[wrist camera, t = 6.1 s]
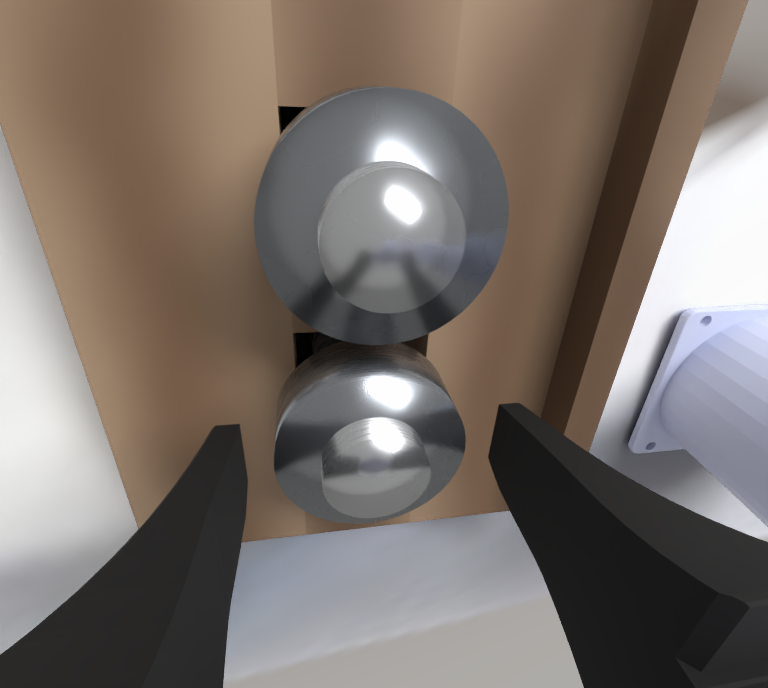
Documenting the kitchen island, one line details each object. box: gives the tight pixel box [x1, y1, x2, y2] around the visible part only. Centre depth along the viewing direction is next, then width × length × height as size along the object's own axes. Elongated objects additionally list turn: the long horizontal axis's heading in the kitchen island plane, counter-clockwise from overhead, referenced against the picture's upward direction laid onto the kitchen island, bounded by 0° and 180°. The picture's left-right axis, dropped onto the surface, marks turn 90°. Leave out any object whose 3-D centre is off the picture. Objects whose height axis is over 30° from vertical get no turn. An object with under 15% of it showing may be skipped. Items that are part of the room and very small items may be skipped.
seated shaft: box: [254, 86, 509, 345], centre depth 12 cm, size 5×5×7 cm
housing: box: [0, 0, 748, 542], centre depth 14 cm, size 16×20×4 cm
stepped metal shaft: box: [274, 332, 466, 524], centre depth 15 cm, size 5×5×7 cm
